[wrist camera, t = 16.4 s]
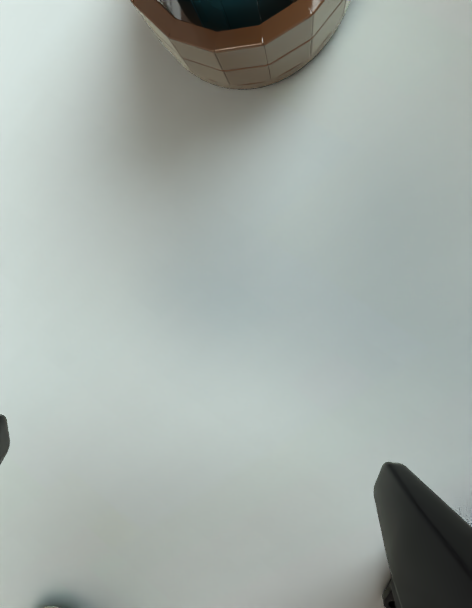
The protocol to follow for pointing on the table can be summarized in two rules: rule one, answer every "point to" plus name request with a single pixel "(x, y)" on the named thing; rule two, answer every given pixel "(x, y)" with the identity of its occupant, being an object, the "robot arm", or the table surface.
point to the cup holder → (245, 41)
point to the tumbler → (231, 12)
